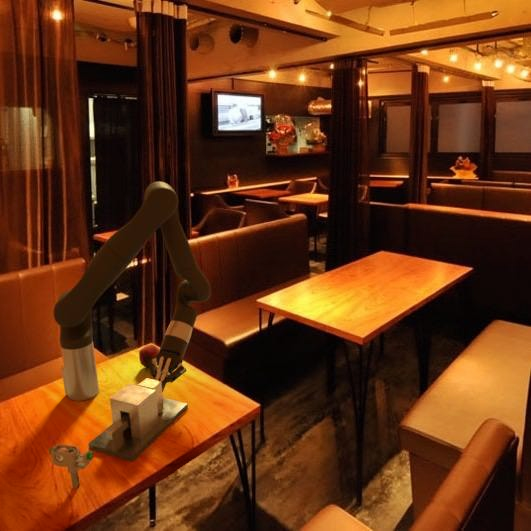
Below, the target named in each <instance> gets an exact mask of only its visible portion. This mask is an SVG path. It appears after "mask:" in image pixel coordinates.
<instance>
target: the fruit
mask: <svg viewBox="0 0 531 531" xmlns="http://www.w3.org/2000/svg"><path fill="white" fill-rule="evenodd" d="M159 352H160V347H159V348H158V346H156V345H154V344H148V345H145V346H144V347H142V348H141V349H140V350H139V352H138V355H139V356H138V357H139V362H140V364H141V365H142V366H143V367H144V368H146V369H147V370H150V369H149V365H148V360H149V359H151V360H152V359H154V358H156V356H157V354H158V353H159ZM156 367H158V364H157V366H156Z"/></svg>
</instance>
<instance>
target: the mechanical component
mask: <svg viewBox="0 0 531 531" xmlns="http://www.w3.org/2000/svg"><path fill="white" fill-rule="evenodd" d="M48 453H49V455H50V457H51V461H52V463H53V464H54V466H57V467H65V468H67V472H68V474H70V478H71V483H72V484H71V485H72V486H71V487H72V488H73V489H78V487H79V486H80V476H79V471H80V470H85V469H86V468H87V467H88V466H89V464H90V463H91V462H92V460H93V459H94V452H93V451H92V450H91V449H89V450H88V449H87V450H85V452H84V453H83V452H81V450H80V449H79V448H78V446H77V445H67V444H60V443H59V444H58V443H57V444H56V445H55V446H52V447H50V449H49V451H48Z"/></svg>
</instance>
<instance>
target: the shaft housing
mask: <svg viewBox="0 0 531 531" xmlns="http://www.w3.org/2000/svg"><path fill="white" fill-rule="evenodd" d="M109 403H110V411H111V418H112V419H111V420H112V423H111V425H109V426H108V427H106V429H104V430H103V431H102V432H100V433H99V434H98V435H97V436H95V438H93V439H92V440H91V441H90V442H89V443H88V444H87V445H88V446H87V447H88V449H89V450H91V451H94V452H99V453H102V454H105V455H108V456H112V457H115V458H119V459H121V460H124V461H128V462H132V463H133V462H135V460H136V459H137V458H138V457H139V456H141V455H142V454H143V453H144V452H145V451H146V450H147V449H148V447H150V446H151V445H152V444H153V443H154V442H155V441H156V440H157V439H158V438H159V437H160V436H161V435H162V434H163V433H164V432H165V431H166V430H167V429H168V428H169V427H170V426H172V424H173V423H174V422H175V421H176V420H177V419H178V418H179V417H180V416H182V414H183V413H185V411H187V410H188V408H189V404H188V403H187V402H183V401H178V400H173V399H170V398H166V397H163V406H164V409H163V410H162V411H161V412H160V413H159V414H158V408H157V397H156V390H153V389H149V388H145V387H140V386H138V385H135V384H131V383H128V384H127V385H125V386H124V387H122V388H121V389H120V390H119V391H118V392H116V393H114V395H112V396H111V397H109ZM127 413H129V414H130V424H131V425H130V426H128V427H127V428H126V429H125V430H124V431H123V432H121V433H120V434H119V435H118V436H117V437H116V438H115V439H113V440H111V439H107V438H106V431H107V430H108V429H109V428H110V427H112V426H113V425H114V424H115V423H116V422H118V421H119V420H120V419H121V418H122V417H124V416H125V415H126V414H127Z"/></svg>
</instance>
